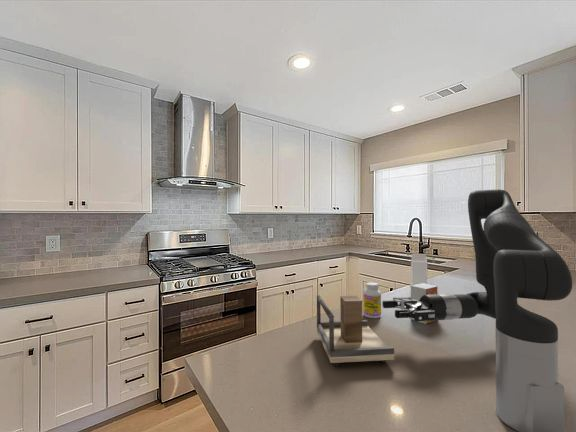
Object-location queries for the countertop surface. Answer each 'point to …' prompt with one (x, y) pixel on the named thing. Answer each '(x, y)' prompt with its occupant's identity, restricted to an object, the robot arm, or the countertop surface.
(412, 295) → the small box
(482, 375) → the countertop surface
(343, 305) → the walnut block
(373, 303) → the supplement bottle
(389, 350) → the cart
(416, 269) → the milk
